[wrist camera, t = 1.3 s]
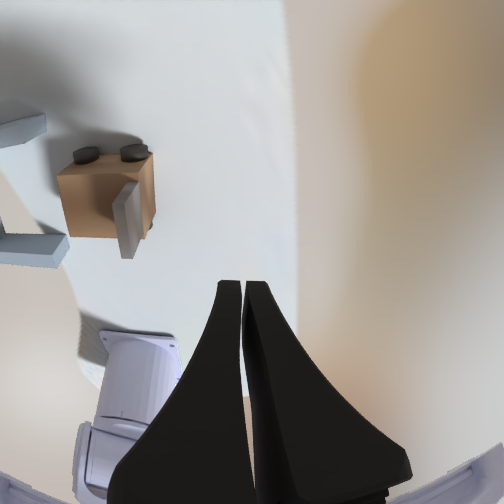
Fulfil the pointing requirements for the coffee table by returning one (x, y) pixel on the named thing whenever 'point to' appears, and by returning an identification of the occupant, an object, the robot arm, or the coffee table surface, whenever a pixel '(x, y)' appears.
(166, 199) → the coffee table surface
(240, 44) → the coffee table surface
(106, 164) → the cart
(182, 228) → the coffee table surface
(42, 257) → the bay
